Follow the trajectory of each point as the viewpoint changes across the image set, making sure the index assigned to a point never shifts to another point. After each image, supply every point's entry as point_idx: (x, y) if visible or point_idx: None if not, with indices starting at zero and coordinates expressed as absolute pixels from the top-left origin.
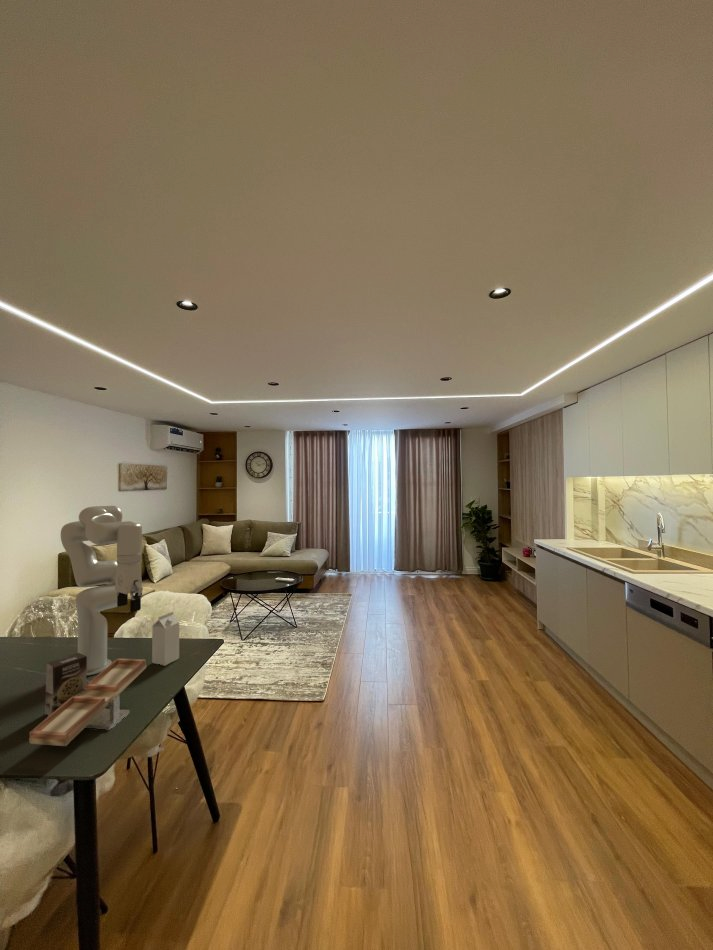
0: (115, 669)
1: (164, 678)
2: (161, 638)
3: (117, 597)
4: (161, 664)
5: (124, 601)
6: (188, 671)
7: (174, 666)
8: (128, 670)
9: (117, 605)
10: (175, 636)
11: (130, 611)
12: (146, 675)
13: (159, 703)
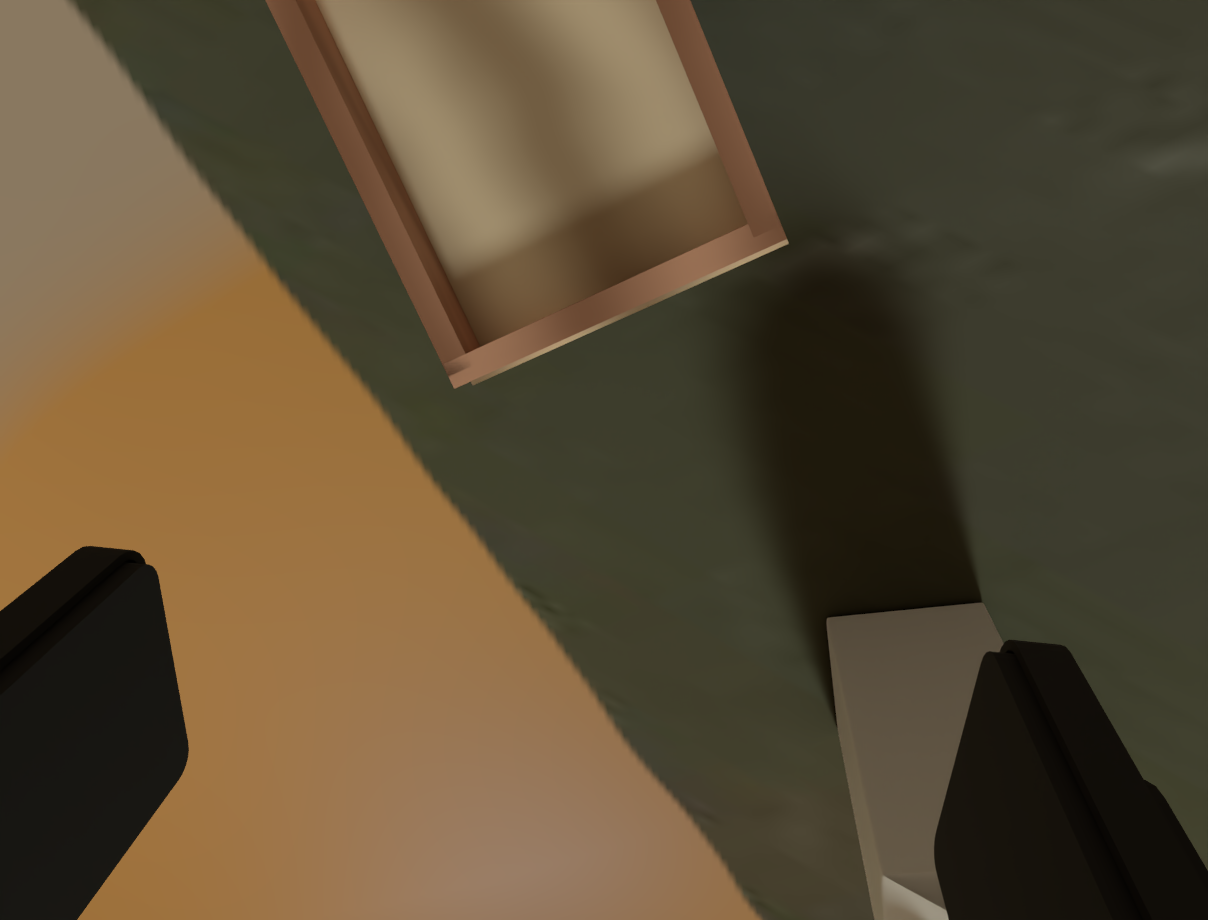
0: (667, 149)
1: (631, 501)
2: (913, 774)
3: (1186, 894)
4: (865, 615)
5: (983, 883)
6: (571, 642)
7: (748, 644)
8: (512, 216)
9: (1047, 654)
10: (866, 862)
11: (98, 548)
12: (817, 462)
13: (293, 274)
